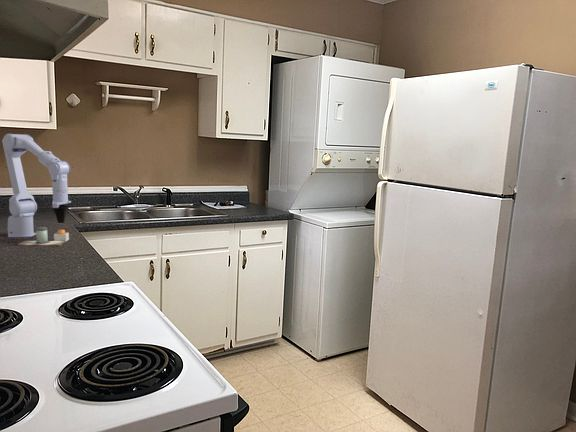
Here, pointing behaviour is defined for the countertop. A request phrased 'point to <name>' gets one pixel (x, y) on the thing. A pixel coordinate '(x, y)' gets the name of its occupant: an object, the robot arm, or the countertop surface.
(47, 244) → the sketch pad
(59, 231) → the button
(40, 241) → the ink stamp
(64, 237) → the button box
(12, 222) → the robot arm
